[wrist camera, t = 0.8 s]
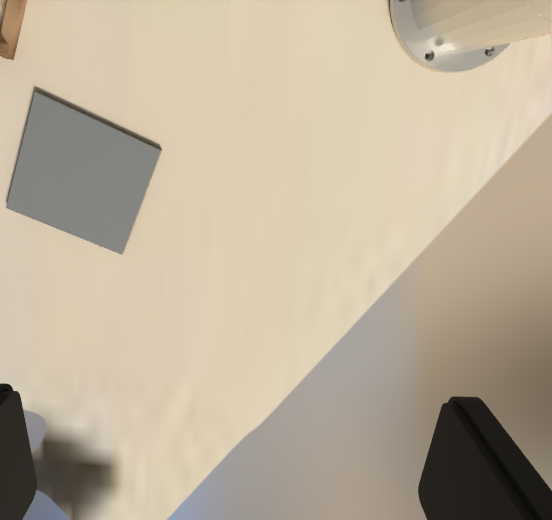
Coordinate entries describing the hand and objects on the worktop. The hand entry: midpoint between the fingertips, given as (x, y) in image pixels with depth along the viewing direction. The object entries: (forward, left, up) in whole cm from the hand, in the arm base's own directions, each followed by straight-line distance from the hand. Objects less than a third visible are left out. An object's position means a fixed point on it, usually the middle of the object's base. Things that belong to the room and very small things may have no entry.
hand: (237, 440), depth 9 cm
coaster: (+8, -15, -34) cm, 38 cm away
